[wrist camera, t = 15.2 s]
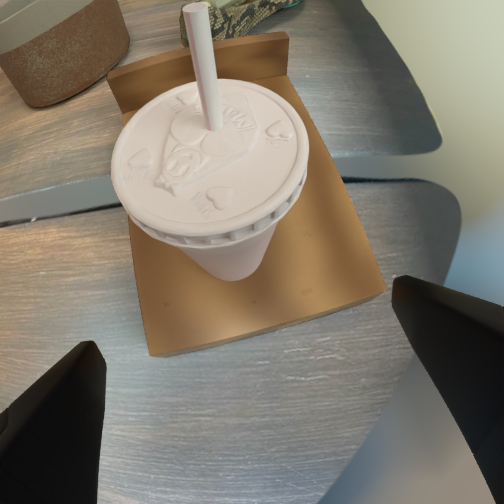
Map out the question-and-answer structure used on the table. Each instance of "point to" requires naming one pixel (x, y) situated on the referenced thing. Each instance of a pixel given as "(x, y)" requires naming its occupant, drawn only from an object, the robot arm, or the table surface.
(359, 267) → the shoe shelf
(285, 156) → the smoothie
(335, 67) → the table surface
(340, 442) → the table surface
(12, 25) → the planter
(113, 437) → the table surface
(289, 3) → the ballet flat
